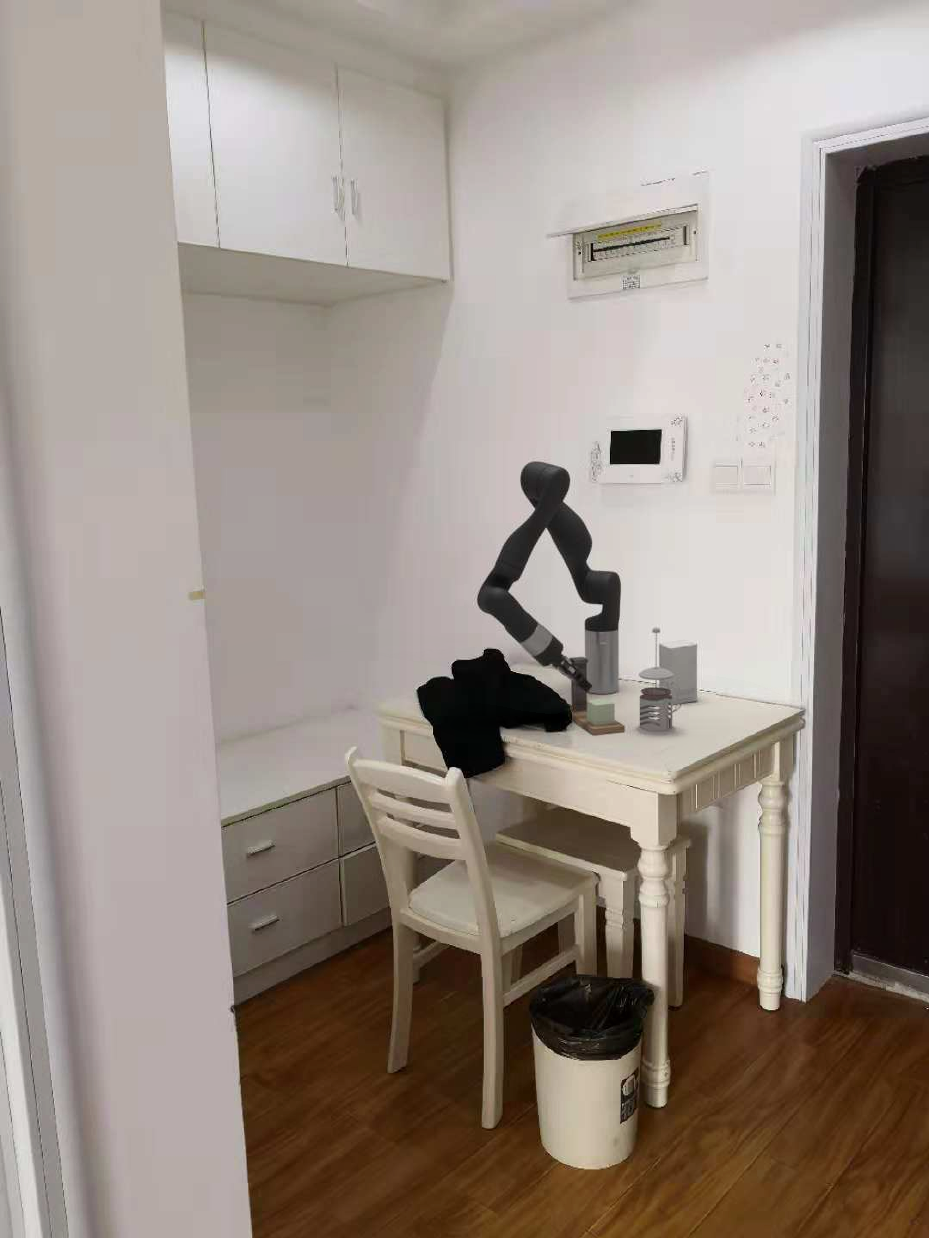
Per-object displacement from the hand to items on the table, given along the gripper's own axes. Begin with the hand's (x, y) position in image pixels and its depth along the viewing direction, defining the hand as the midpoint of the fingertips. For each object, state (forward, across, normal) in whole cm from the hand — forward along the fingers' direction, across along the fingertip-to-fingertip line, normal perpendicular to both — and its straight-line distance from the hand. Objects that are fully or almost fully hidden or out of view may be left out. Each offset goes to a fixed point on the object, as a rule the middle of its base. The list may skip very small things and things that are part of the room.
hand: (586, 686), depth 265 cm
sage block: (+2, -14, +5) cm, 15 cm away
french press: (+12, -20, -2) cm, 24 cm away
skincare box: (+24, +3, -14) cm, 28 cm away
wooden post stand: (+3, -8, +6) cm, 11 cm away
